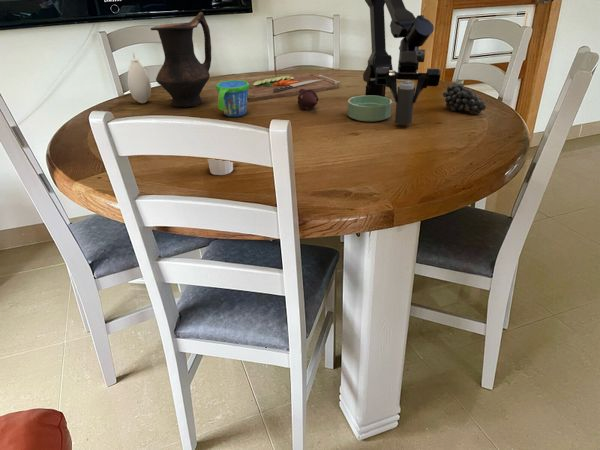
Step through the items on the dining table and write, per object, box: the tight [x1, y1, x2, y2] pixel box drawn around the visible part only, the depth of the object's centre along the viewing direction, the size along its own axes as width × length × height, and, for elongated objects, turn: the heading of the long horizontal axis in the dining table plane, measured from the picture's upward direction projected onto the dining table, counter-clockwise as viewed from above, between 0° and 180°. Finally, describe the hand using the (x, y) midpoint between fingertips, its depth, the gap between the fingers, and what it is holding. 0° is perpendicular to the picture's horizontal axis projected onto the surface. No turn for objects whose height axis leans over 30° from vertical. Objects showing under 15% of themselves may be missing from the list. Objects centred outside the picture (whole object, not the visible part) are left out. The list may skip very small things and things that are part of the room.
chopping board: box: [245, 72, 340, 102], centre depth 186 cm, size 45×27×3 cm, turn 117°
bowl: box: [347, 95, 393, 122], centre depth 149 cm, size 14×14×5 cm
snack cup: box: [215, 79, 249, 118], centre depth 153 cm, size 16×10×10 cm
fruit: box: [442, 82, 487, 115], centre depth 150 cm, size 9×8×15 cm
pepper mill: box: [394, 80, 416, 126], centre depth 137 cm, size 5×5×13 cm
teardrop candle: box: [127, 51, 152, 104], centre depth 167 cm, size 8×8×18 cm
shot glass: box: [207, 159, 234, 176], centre depth 112 cm, size 7×7×7 cm
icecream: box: [296, 89, 320, 111], centre depth 157 cm, size 7×7×15 cm
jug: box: [150, 11, 212, 108], centre depth 161 cm, size 21×18×30 cm
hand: (405, 102), depth 136 cm, fingers closed on pepper mill, 5 cm apart
